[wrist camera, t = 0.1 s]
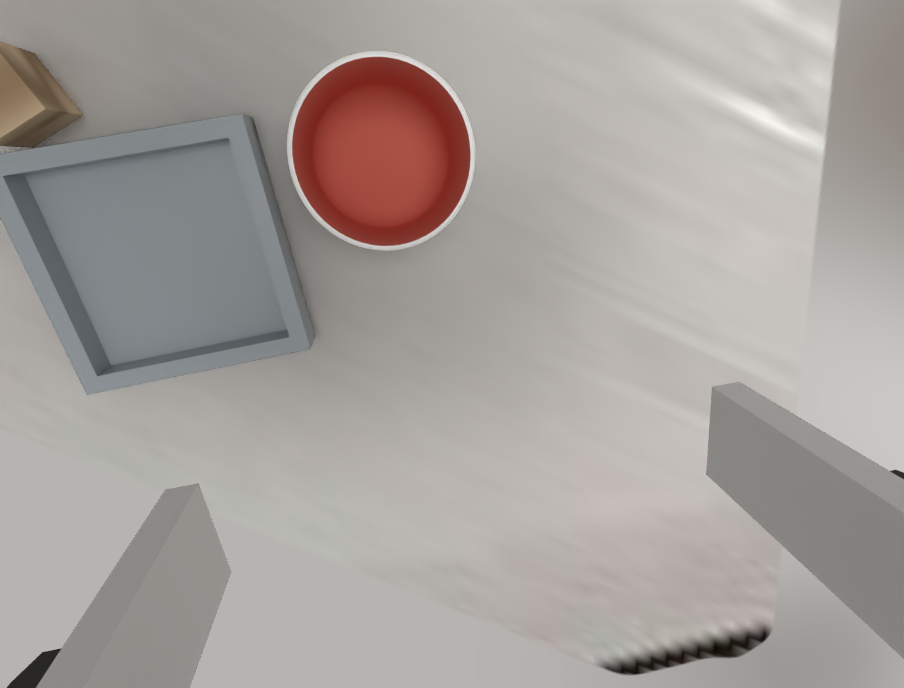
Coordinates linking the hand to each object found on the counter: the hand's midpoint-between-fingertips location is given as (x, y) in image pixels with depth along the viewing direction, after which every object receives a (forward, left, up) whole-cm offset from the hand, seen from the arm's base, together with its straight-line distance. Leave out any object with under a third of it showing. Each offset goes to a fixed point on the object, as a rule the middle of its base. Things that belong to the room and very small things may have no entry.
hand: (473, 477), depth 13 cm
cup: (-8, 0, -28) cm, 29 cm away
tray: (-4, -16, -28) cm, 32 cm away
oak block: (-15, -21, -28) cm, 38 cm away
